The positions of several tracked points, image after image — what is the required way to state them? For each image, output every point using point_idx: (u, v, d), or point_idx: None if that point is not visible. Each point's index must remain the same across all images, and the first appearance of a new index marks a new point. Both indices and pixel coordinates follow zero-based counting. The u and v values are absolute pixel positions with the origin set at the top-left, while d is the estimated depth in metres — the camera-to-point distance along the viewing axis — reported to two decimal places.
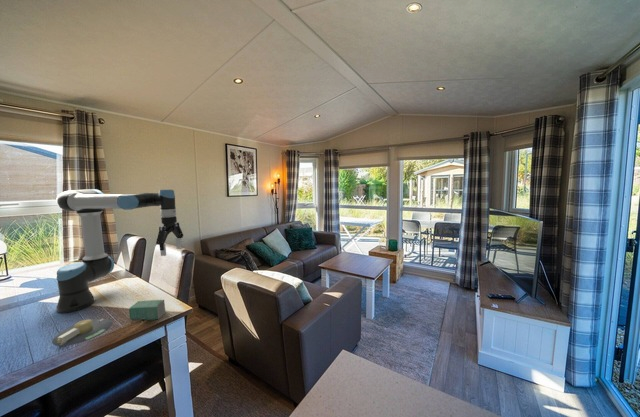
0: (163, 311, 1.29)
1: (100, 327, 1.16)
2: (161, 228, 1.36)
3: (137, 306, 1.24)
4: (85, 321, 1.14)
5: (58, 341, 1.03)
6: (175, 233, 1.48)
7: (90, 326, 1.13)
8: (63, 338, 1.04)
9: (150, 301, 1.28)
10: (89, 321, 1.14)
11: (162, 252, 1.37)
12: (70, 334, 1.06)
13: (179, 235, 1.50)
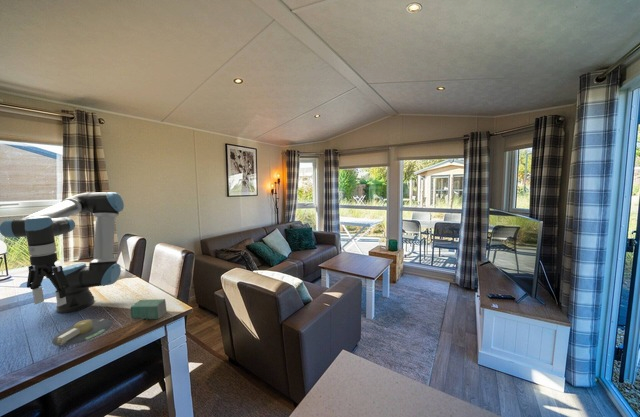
0: (164, 311, 1.29)
1: (100, 327, 1.16)
2: None
3: (139, 305, 1.25)
4: (85, 321, 1.14)
5: (58, 341, 1.03)
6: None
7: (90, 326, 1.13)
8: (63, 338, 1.04)
9: (151, 300, 1.29)
10: (89, 321, 1.14)
11: None
12: (70, 334, 1.06)
13: (55, 286, 1.01)
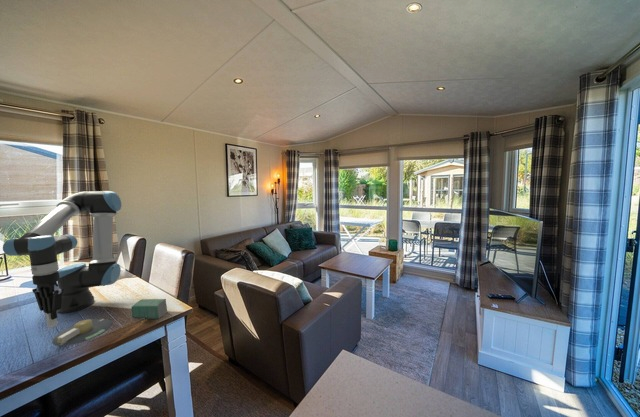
0: (164, 311, 1.30)
1: (100, 327, 1.16)
2: None
3: (139, 304, 1.25)
4: (85, 321, 1.14)
5: (58, 341, 1.03)
6: None
7: (90, 326, 1.13)
8: (63, 338, 1.04)
9: (152, 300, 1.29)
10: (89, 321, 1.14)
11: None
12: (70, 334, 1.06)
13: (48, 307, 1.03)
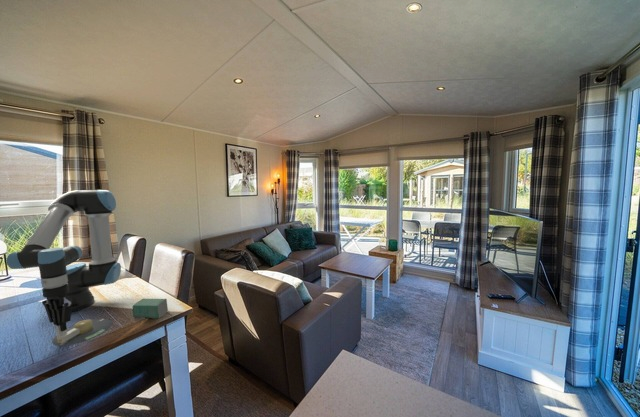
0: (165, 310, 1.30)
1: (100, 327, 1.16)
2: None
3: (140, 304, 1.26)
4: (85, 321, 1.14)
5: (58, 341, 1.03)
6: None
7: (90, 326, 1.13)
8: (63, 338, 1.04)
9: (153, 299, 1.30)
10: (89, 321, 1.14)
11: None
12: (70, 334, 1.06)
13: (58, 319, 1.03)
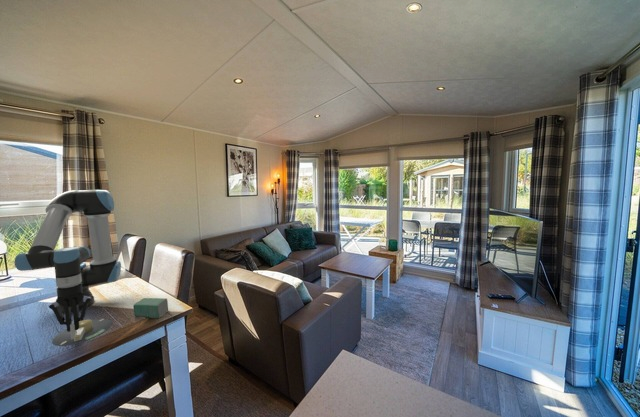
0: (165, 310, 1.30)
1: (100, 327, 1.16)
2: None
3: (141, 303, 1.26)
4: (83, 321, 1.14)
5: (77, 338, 1.04)
6: None
7: None
8: (80, 335, 1.06)
9: (154, 299, 1.30)
10: (88, 320, 1.15)
11: None
12: (82, 332, 1.08)
13: (74, 318, 1.04)
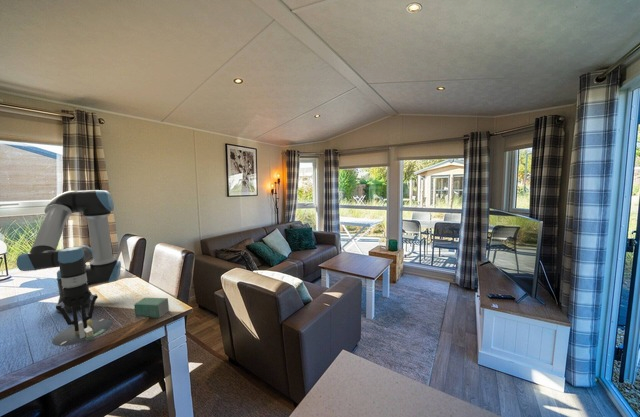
0: (166, 310, 1.30)
1: (100, 327, 1.16)
2: None
3: (142, 303, 1.27)
4: None
5: (90, 334, 1.07)
6: (81, 310, 1.05)
7: None
8: (92, 330, 1.09)
9: (155, 299, 1.31)
10: (87, 320, 1.15)
11: (79, 332, 1.05)
12: None
13: (83, 316, 1.05)
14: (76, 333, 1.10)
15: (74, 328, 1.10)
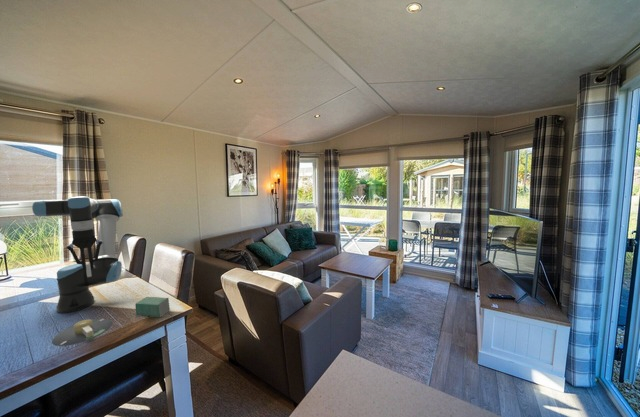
0: (166, 310, 1.31)
1: (100, 327, 1.16)
2: (67, 248, 1.14)
3: (143, 302, 1.27)
4: (82, 322, 1.13)
5: (90, 334, 1.07)
6: (88, 253, 1.19)
7: None
8: (92, 330, 1.09)
9: (156, 298, 1.31)
10: (87, 320, 1.15)
11: (86, 272, 1.20)
12: None
13: (90, 258, 1.19)
14: (76, 333, 1.10)
15: (74, 328, 1.10)
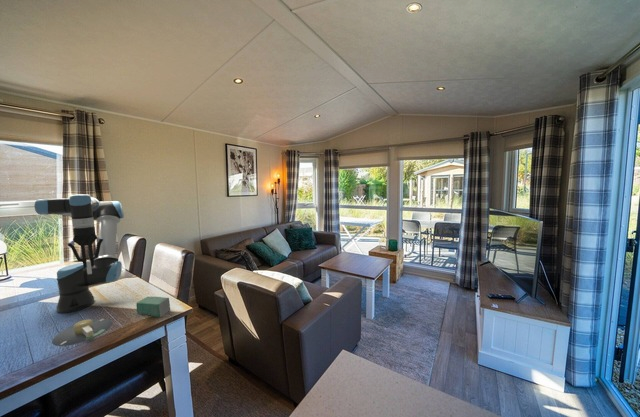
0: (167, 309, 1.31)
1: (100, 327, 1.16)
2: (68, 245, 1.15)
3: (144, 301, 1.28)
4: (82, 322, 1.13)
5: (90, 334, 1.07)
6: None
7: None
8: (92, 330, 1.09)
9: (156, 298, 1.32)
10: (87, 320, 1.15)
11: (87, 270, 1.21)
12: None
13: (90, 255, 1.20)
14: (76, 333, 1.10)
15: (74, 328, 1.10)
